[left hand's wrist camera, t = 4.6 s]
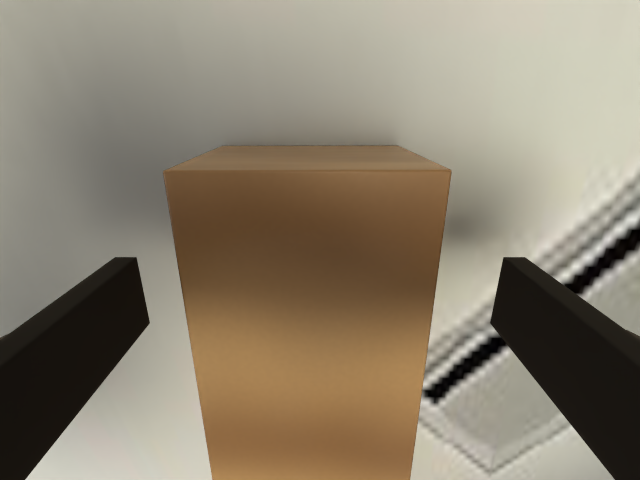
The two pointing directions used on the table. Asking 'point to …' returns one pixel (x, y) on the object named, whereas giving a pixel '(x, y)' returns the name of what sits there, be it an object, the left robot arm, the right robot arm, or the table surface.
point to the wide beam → (309, 304)
